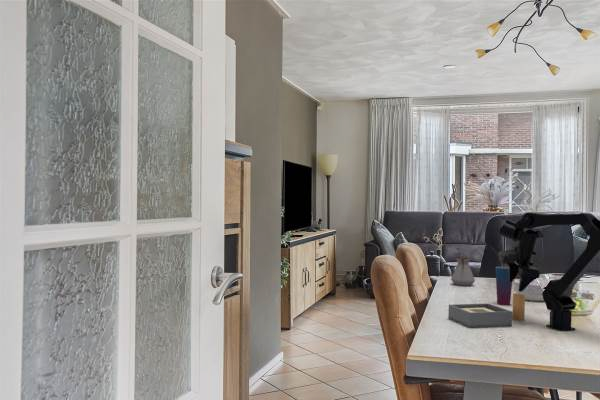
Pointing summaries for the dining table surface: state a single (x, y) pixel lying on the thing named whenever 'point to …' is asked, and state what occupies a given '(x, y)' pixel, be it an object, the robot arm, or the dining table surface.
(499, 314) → the socket tray
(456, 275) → the grey tied sack
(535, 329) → the dining table surface
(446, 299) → the dining table surface
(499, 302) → the cup
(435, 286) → the dining table surface
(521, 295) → the peg
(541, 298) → the paper bowls
